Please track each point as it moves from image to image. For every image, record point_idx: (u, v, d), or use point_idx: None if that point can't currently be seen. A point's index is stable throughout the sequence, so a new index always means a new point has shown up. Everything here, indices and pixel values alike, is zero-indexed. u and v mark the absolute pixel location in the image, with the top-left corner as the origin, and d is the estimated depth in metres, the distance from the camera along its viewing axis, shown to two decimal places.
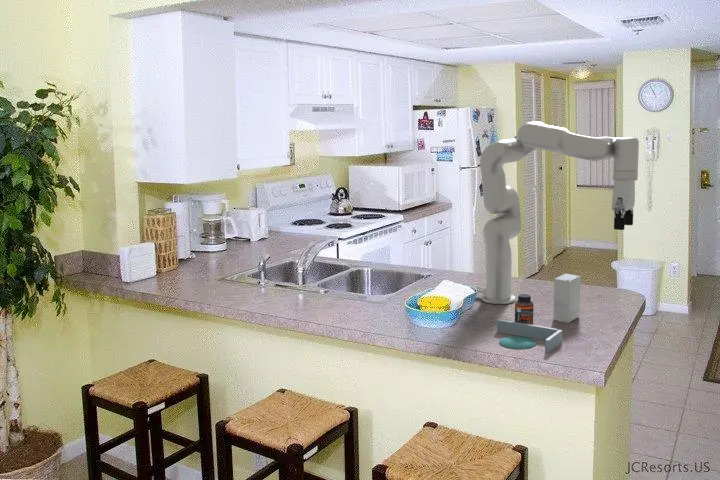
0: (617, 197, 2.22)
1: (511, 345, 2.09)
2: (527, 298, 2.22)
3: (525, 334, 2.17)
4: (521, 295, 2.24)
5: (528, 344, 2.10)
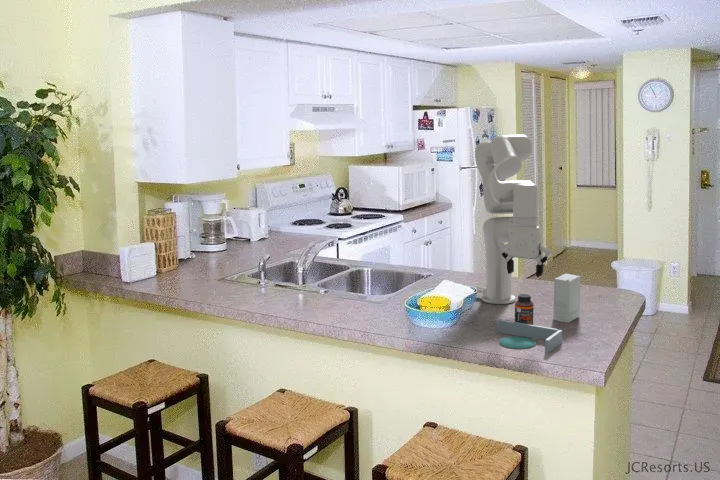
0: (538, 244, 2.17)
1: (511, 345, 2.09)
2: (527, 298, 2.22)
3: (525, 334, 2.17)
4: (521, 295, 2.24)
5: (528, 344, 2.10)
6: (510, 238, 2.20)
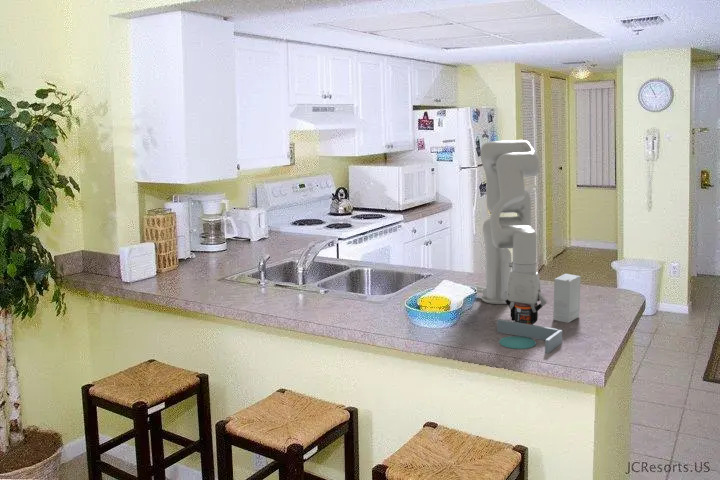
0: (538, 290, 2.20)
1: (511, 345, 2.09)
2: None
3: (525, 334, 2.17)
4: None
5: (528, 344, 2.10)
6: (509, 283, 2.23)
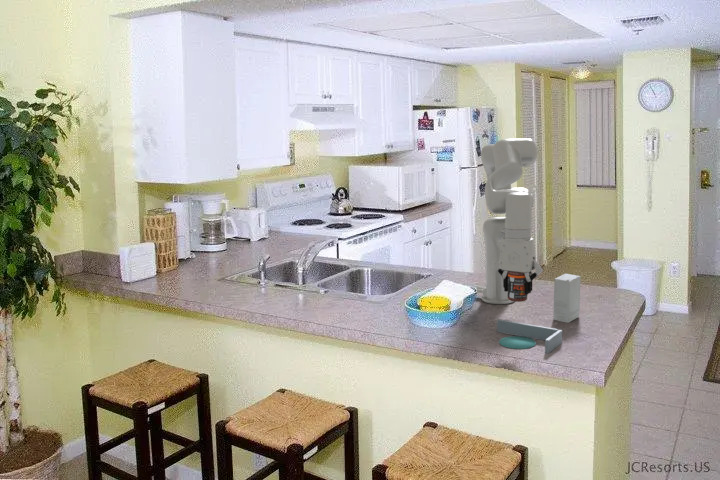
0: (532, 257, 2.04)
1: (511, 345, 2.09)
2: None
3: (525, 334, 2.17)
4: None
5: (528, 344, 2.10)
6: (502, 251, 2.07)
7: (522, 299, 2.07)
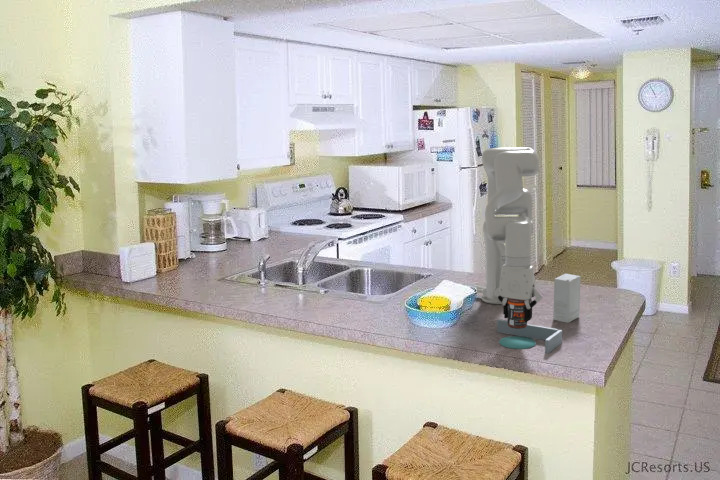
0: (532, 285, 2.05)
1: (511, 345, 2.09)
2: None
3: (525, 334, 2.17)
4: None
5: (528, 344, 2.10)
6: (502, 278, 2.09)
7: (522, 326, 2.08)
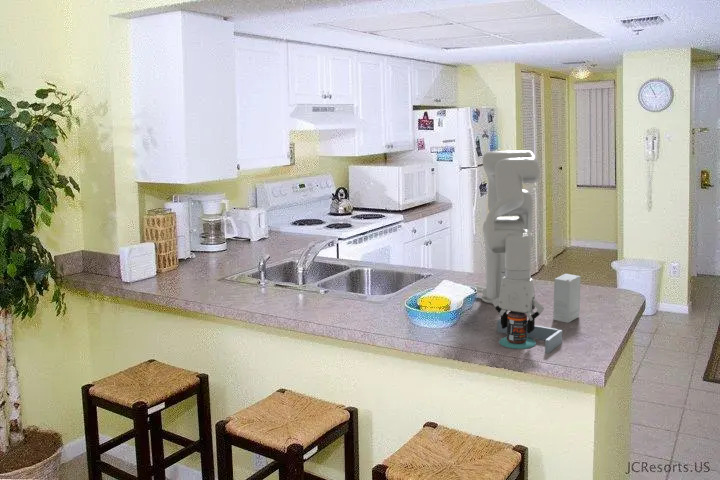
0: (532, 297, 2.06)
1: (511, 345, 2.09)
2: None
3: None
4: None
5: (528, 344, 2.10)
6: (502, 290, 2.10)
7: (522, 341, 2.10)
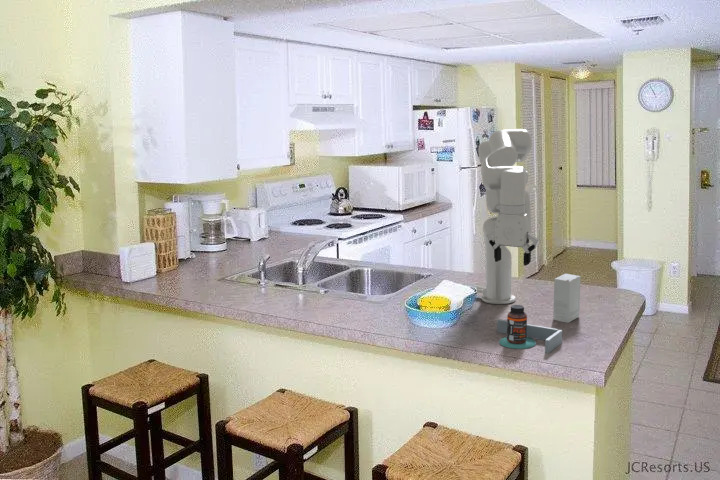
0: (526, 232, 2.12)
1: (511, 345, 2.09)
2: (520, 309, 2.09)
3: None
4: (514, 306, 2.10)
5: (528, 344, 2.10)
6: (497, 226, 2.15)
7: (522, 341, 2.10)
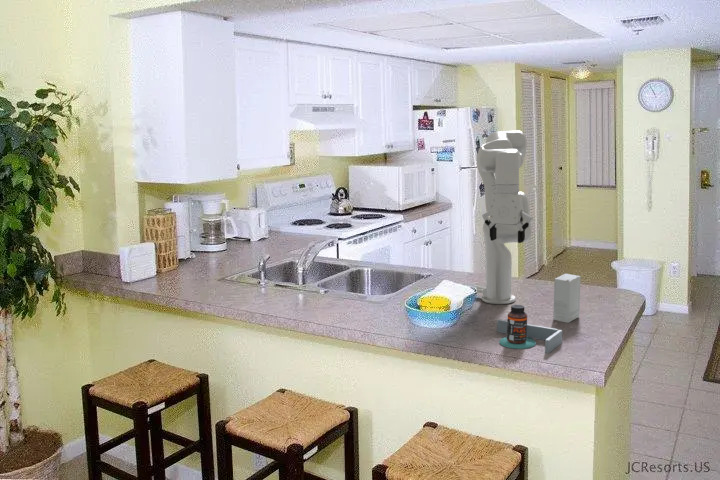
0: (520, 210, 2.21)
1: (511, 345, 2.09)
2: (521, 309, 2.09)
3: None
4: (514, 306, 2.11)
5: (528, 344, 2.10)
6: (492, 205, 2.24)
7: (522, 341, 2.10)
